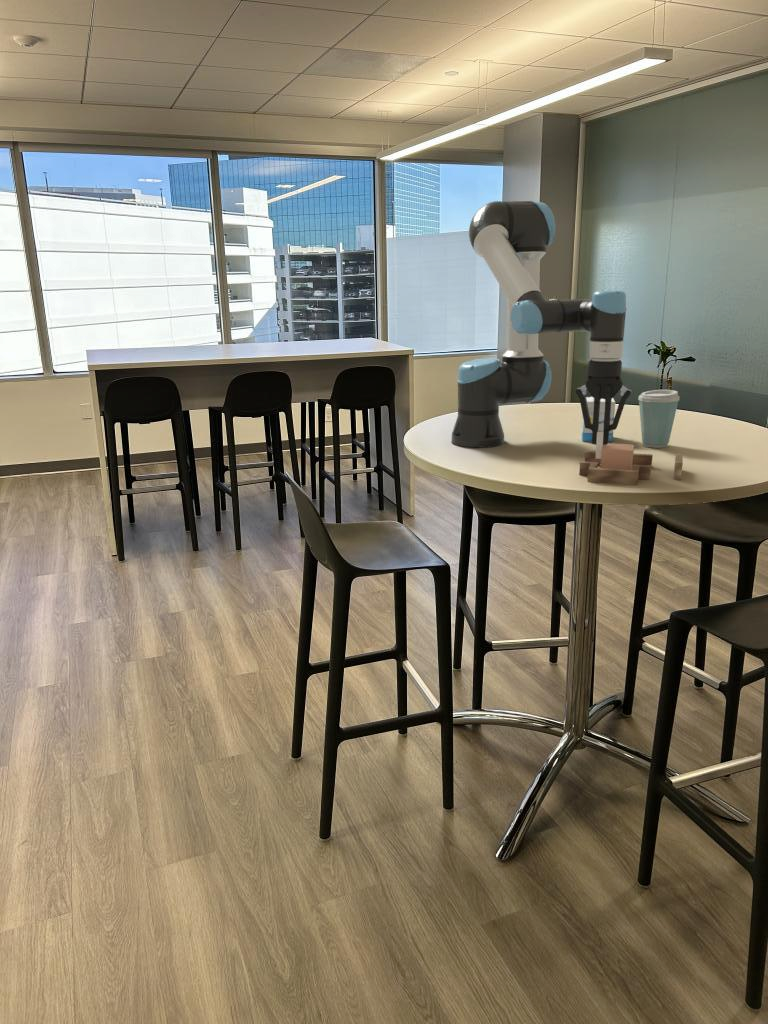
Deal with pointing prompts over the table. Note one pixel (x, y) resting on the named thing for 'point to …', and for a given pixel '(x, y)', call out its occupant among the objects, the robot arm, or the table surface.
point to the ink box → (587, 433)
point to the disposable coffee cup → (657, 416)
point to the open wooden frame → (619, 476)
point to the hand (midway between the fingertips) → (599, 457)
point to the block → (617, 456)
